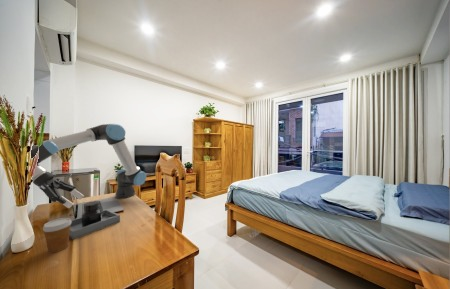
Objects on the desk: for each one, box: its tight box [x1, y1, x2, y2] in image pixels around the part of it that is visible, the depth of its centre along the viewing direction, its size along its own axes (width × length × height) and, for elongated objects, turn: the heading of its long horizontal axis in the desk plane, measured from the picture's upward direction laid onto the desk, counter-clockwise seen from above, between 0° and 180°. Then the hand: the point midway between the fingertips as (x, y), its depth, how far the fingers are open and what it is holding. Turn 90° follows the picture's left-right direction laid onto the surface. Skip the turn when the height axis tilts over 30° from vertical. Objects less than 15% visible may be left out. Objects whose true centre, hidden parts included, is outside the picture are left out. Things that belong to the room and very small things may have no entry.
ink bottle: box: [81, 200, 102, 227], centre depth 99 cm, size 10×9×12 cm
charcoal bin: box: [69, 209, 121, 240], centre depth 99 cm, size 22×16×4 cm
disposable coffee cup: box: [42, 217, 72, 254], centre depth 78 cm, size 10×10×12 cm
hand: (77, 201), depth 96 cm, fingers open, 13 cm apart
